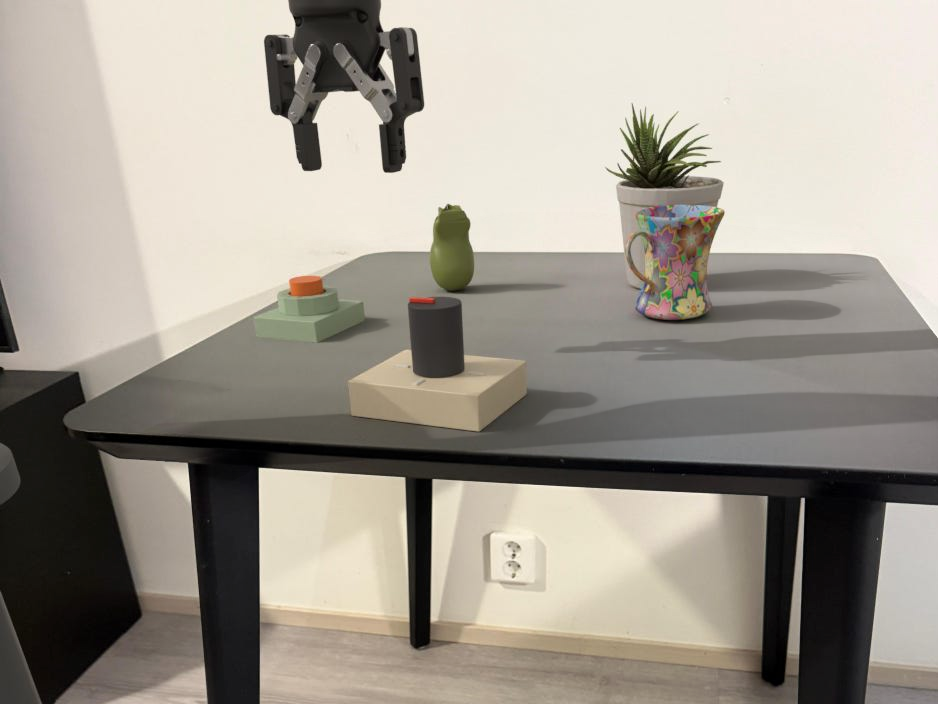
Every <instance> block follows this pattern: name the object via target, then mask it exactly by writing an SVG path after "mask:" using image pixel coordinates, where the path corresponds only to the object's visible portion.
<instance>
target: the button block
mask: <svg viewBox="0 0 938 704" xmlns="http://www.w3.org/2000/svg"><path fill="white" fill-rule="evenodd" d="M323 290H324V293H322V294H319V295H313V296H291V292H290V287H289V288H285V289H283V290H280V291H278V292H277V294H276V298H277V306H278V307H276V308H273V309H270V310H268V311H265V312H263V313H261V314H258V315H255V316H253V317H252V318H253V324H254V330H255V335H256V338H261V339H263V338H264V339H273V340H284V341H295V342H306V343H320V342H322V341H324V340H326V339H328V338H330V337H332V336H335V335H337V334H339V333H341V332H343V331H345V330H347V329H350V328H352V327H354V326H356V325H358V324H361V323H363V322H364V321H366V314H365V306H364V305H365V304H364V301H363V300H355V299H353V300H352V299H340V298H339V294H338V289H337V288H336V287H333V286H329V285H323Z"/></svg>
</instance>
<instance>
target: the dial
mask: <svg viewBox="0 0 938 704" xmlns="http://www.w3.org/2000/svg"><path fill="white" fill-rule="evenodd" d="M408 299H409V300H408V301H409V302H408V303H407V313H408V325H409V339H410V350H411V353H412V366H413V372H414V374H416V375H418V376H422V377H431V378H438V377H448V376H453V375H456V374H459V373H461V372H463V371H464V369H465V365H464V355H465V348H464V347H465V346H464V326H463V305H462V304H463V303H462V300H461V299H460V298H456V297H451V296H428V297H419V296H411V297H409V298H408Z"/></svg>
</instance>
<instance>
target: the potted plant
mask: <svg viewBox="0 0 938 704" xmlns="http://www.w3.org/2000/svg"><path fill="white" fill-rule="evenodd" d="M631 111H632V126H633V127H632V128H633V131H632V129H631V127H630V125H629V122H628V119H627V117H624V119H625V125H626V128H627V130H628V133H629V136H630V138H629V137H628V135H627V134H626V132H625V131H624V130H623V129H622V128H621V127H619V130H620V132H621V134H622V136H623V138H624V141H625V143H626V145H627V147H628V150H629V153H631V155H632V157H630V155H628V153H626V151H625V150H624V149H620V151H621V153H622V155H624V157H625V158H626V159H627V160H628V161H629V165H630V167H627V168H626V170H625V171H624V170H623V169H622V167H621V166H620V164H619V162H617V163H616V164H617V167H618V169H619V171H620V173H619V172H616V171H613V170H611V169H610V168H608V167H606V166H604V168H605V169H606V171H607V172H609V173H610V174H612V175H614V176H615V177H618V178H620V179H623V180H621V181H619V182H617V184H616V185H615V189H616V197H617V202H618V204H619V205H618V207H619V215H620V216H619V217H620V224H621V225H620V226H621V234H622V243H623V254H624V263H625V273H626V279H627V283H628V284H629V285H630V286H631V287H633V288H635V289H639V290H641V288H642V284H643V281H642V280H640V279H639V278H638V277H637V276H636V275H635V274H634V273H633V272H632V270H631V269H630V267H629V265H628V262H627V260H626V256H625V244H626V241H627V239H628V238H629V236H630V235H631V234H632V233H634V232H637V231H640V228H639V225H638V222H637V219H636V217H635V213H636V211H637V210H640V209H643V208H648V207H654V206H664V205H703V206H712V207H718V205H719V201H720V199H721V196H722V193H723V187H724V184H725V183H724V181H722V179H719V178H716V177H708V176H696V175H690V174H689V173H690V172H692V171H693V170H695V169H697V168H700V167H703V168H707V167H708V164H716V163H722V161H721V160H706V161H704V162H703V161H702V162H699V161H690V162H687V161H685V160H683V159H685V158H688V157H707V156H708V155H707V154H704V153H699V152H692V151H696V150H697V151H698V150H713V147H709V146H702V145H701V146H694V147H690V146H692V145H694V143H696V142H697V141H699V140H700V139H703V138H705V137H708V136H710V134H708V133H707V134H704V135H700V136H698V137H696V138H694V139H692V140H690V141H689V142H688V143H686V144H684V145H683V146H682V147H681V148H680V149H679V150H678V151H677V152H676V153H675V154H674V155H673V156H672V157H671V158H670V156H671V154H672V153H673V152H674V150H675V148H676V147H677V146H678V145H679V144H680V142H681V140H682V139H683V138H684V137H685V136H686V135H687V134H688V133H689V131H691V130H693V129H694V128H695V127H696V126H698V125H700V123H695V124H694V125H692V126H690V127H689V128H686V129H684V130H683V131H681V132H680V133H678V134H677V135H676V136H674V137H672V138H671V139H669V140H668V141H667V142H665V144H664V145H663V146H662V147H661V144H662V140H663V138H664V135H665V133H666V131H667V129H668V127H669V125H670V123H671V122H672V121H673V119H674V118H675V117H676V116H677V114H678V113H680V112H679V110H678V111H676V113H674V115H673V116H672V117H671V118H670V119H668V121H667V122H666V124H665V126H664V127H663V129H662V131H661V133H660V135H659V138H658V132H659V128H660V124H657V127H656V129H655V123H654V116H655V115H654V113H652V114H651V116H650V118H649V121H648V123H647V121H646V120H647V119H646V118H647V106H644V112H643V113H644V115H643V114H642V109H639V120H638V117H637V115H636V111H635V107H634V104H633V102H631ZM654 131H655V132H654ZM660 147H661V149H660ZM669 158H670V159H669ZM635 161H636V162H635ZM688 174H689V175H688ZM631 256H632V260H633V263H634V265H635V267H636V268H637V270H638V271H639V272H640V273H641V274H642V275H643V276H644V269H645V257H644V246H643V241H642V236H641V235H640V236H637V237H636V238H635V239H634V240H633V242H632V245H631Z"/></svg>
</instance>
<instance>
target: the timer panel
mask: <svg viewBox="0 0 938 704" xmlns="http://www.w3.org/2000/svg"><path fill="white" fill-rule="evenodd" d="M464 365H465V369H464V371H463V372H461V373H459V374H456V375H453V376H448V377H438V378H431V377H422V376H418V375H416V374H414V372H413V366H412V353H411V349H404V350H402V351H400V352H398V353H397V354H395V355H393V356H391V357H389V358H387V359H386V360H384V361H382V362H380V363H378V364H377V365H375V366H373V367H371V368H369V369H367V370H366V371H364V372H362V373H360V374H358V375H357V376H355V377H353V378H351V379H349V380H348V381H347V386H348V394H349V395H348V396H349V403H350V412H351V417H359V418H366V419H374V420H375V419H376V420H383V421H391V422H399V423H406V424H414V425H421V426H422V425H423V426H430V427H439V428H445V429H454V430H463V431H470V432H476V433H477V432H479V433H480V432H481V431H482V430H483V429H485V428H486V427H487V426H488V425H490V424H492V422H494V421H495V420H496V419H498V417H500V416H501V415H502V414H504V413H505V412H506V411H508V410H509V409H510V408H511V407H512V406H514V405H516V403H518V402H519V401H520V400H521V399H523V398H524V397H525V396H527V394H528V393H527V392H528V391H527V390H528V389H527V388H528V387H527V386H528V385H527V383H528V382H527V378H528V377H527V360H525V359H524V360H523V359H512V358H500V357H489V356H481V355H480V356H478V355H468V354H464Z"/></svg>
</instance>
